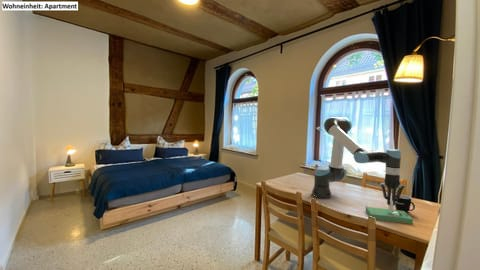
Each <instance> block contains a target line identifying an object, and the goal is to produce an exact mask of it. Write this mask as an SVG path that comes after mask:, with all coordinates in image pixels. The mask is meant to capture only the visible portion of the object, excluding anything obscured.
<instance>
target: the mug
mask: <svg viewBox="0 0 480 270" xmlns="http://www.w3.org/2000/svg"><path fill="white" fill-rule="evenodd" d="M411 205H412V209H411ZM394 207H395V210H399V211H405V212H406V213H407V214H408V213H409V211H410V212H413V211H414V210H415V209H416V205H415V204H414V202H412V196H409V195H406V194H401V195H400V198H399V200H396V201H395V206H394Z"/></svg>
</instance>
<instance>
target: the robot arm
mask: <svg viewBox="0 0 480 270" xmlns="http://www.w3.org/2000/svg"><path fill="white" fill-rule="evenodd" d="M352 127H353V125H352V121H351V120H350V119H349V118H348V117H343V116H342V117H340V116H339V117H335V116H334V117H333V116H332V117H328V118H326V120H325V121H324V123H323V128H324V131H325V132H326V133H327V134H328V135H329V136H332V137H333V139H332V148H331V156H330V157H331V159H330V163H329V164H328V166H318V167H316V168H315V169H314V173H313V175H314V180H313V181H314V185H313V187H312V191H311V195H312V194H313V195H315V196H317V197H320V198H319V199H323V198H327V199H331V198H332V191H331V189H330V184H331V183H335V182H336V183H337V182H342V181H345V179H346V177H347V172H346V169H345V166H344V165H343V158H344V149H346V150H347V151H348V152H349V153H350V154H351V155H353V159H354V161H355V163H358V164H369V163H371V164H372V163H383V164H385V171H384V172H385V173H384V181H383V182H382V183H379V185H380V187H381V191H382V194H383V198H384V199H385V200H387V201H386V205H387V206H388V208H387V209H389V210H390V211H393V210H394V207H395V201H396V200H399V198H400V195H402V192H403V190H404V188H405V185H403V184H401V182H400V181H401V180H400V179H401V178H400V177H401V176H400V174H401V160H402V151H401V149H394V148H393V149H392V148H388V149H386V151H382V150H377V149H370V150H369V151H368V150H366V149H365V148H363V147H362V146H361V145H360V144H359V143H357V142H356V141H355V139H353V138H352V137H350V136H349V135H348V133H349V132H350V131H351V129H352ZM386 187H387V191H386ZM313 195H312V196H313ZM317 197H316V198H317Z"/></svg>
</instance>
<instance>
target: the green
mask: <svg viewBox="0 0 480 270" xmlns="http://www.w3.org/2000/svg"><path fill="white" fill-rule="evenodd" d="M365 212H366V214H367V216H368V217H369V216H372V217H375V218H376V219H375V220H378V221H386V222H387V221H388V222H394V223H402V224H409V225H411V224H413V223H414V222H413V221H414V220H413V218H412V217H411V215H409V214H408V212H407V213H406V212H405V211H399V210H396V209H393V211H390V210H389V209H388V208H382V207H381V208H379V207H370V206H365ZM393 212H398V213H399V215H395V214H392V213H393Z"/></svg>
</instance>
